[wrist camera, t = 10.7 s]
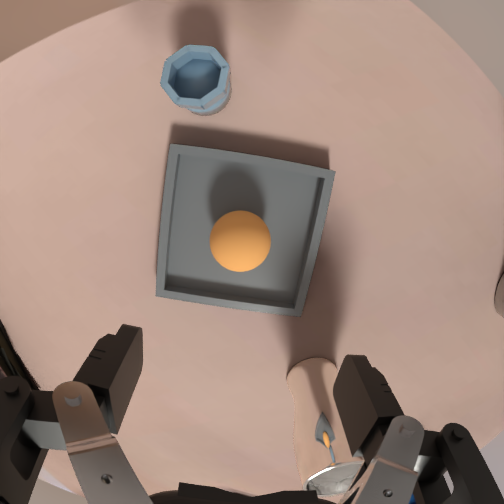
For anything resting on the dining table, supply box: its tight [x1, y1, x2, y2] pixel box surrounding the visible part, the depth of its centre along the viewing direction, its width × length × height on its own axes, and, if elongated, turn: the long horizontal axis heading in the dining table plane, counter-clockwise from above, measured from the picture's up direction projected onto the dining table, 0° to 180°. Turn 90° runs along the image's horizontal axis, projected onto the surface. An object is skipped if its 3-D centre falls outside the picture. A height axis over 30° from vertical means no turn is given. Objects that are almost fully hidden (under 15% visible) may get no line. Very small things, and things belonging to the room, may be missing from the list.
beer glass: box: [287, 358, 364, 497], centre depth 28 cm, size 7×7×15 cm
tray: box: [156, 144, 335, 317], centre depth 28 cm, size 14×14×2 cm
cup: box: [160, 45, 231, 116], centre depth 21 cm, size 4×4×7 cm
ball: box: [209, 210, 271, 272], centre depth 26 cm, size 5×5×5 cm
